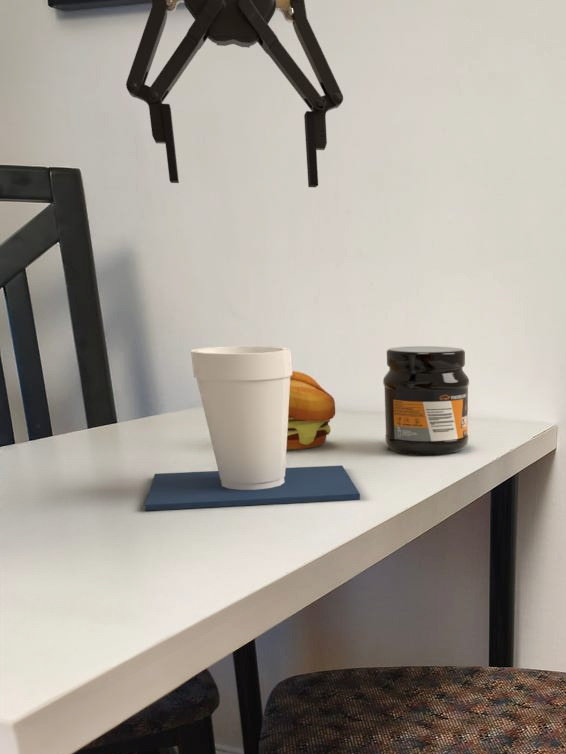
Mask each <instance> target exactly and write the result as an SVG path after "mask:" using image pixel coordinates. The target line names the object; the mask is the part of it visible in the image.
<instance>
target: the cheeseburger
mask: <svg viewBox="0 0 566 754" xmlns="http://www.w3.org/2000/svg"><path fill="white" fill-rule="evenodd" d="M335 416H336V402H335V398H334V397H333V395H332V394H330V393H329V392H328V391H326V390H325V389H324V388H323V387H322V386H321V385H320V384H319V383H318V382H317V380H316V379H314V378H313V377H311V376H310V375H308V374H306V373H304V372H300V371H297V370H296V371H295V370H292V375H290V391H289V410H288V429H287V448H286V451H287V450H303V449H310V448H315V447H319V446H321V445H323V444H324V443H326V440H327V437H328V436H329V435H330V434H331V425H330V424H329V423H330V422H331V420H332V419H334V417H335Z"/></svg>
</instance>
